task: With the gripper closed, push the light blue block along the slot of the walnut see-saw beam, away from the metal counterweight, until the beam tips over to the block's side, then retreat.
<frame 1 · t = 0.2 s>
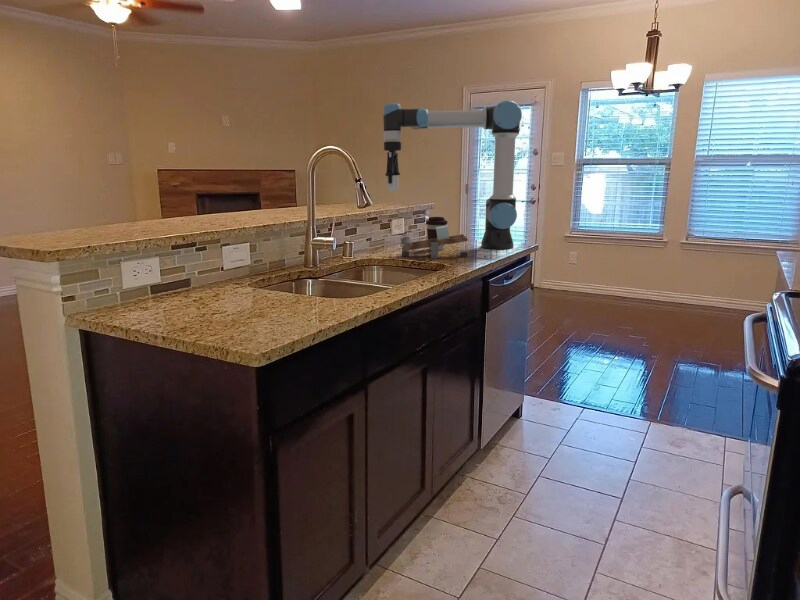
hand: (393, 190, 251), 28 cm above the worktop, fingers open, 13 cm apart
fulcrum: (434, 256, 243), on the worktop
coffee cup: (436, 249, 263), on the worktop
light blue block: (443, 240, 241), point 7 cm above the worktop, tilted 9°, touching beam
beam: (433, 238, 241), point 8 cm above the worktop, hinge at 8.8°, touching light blue block
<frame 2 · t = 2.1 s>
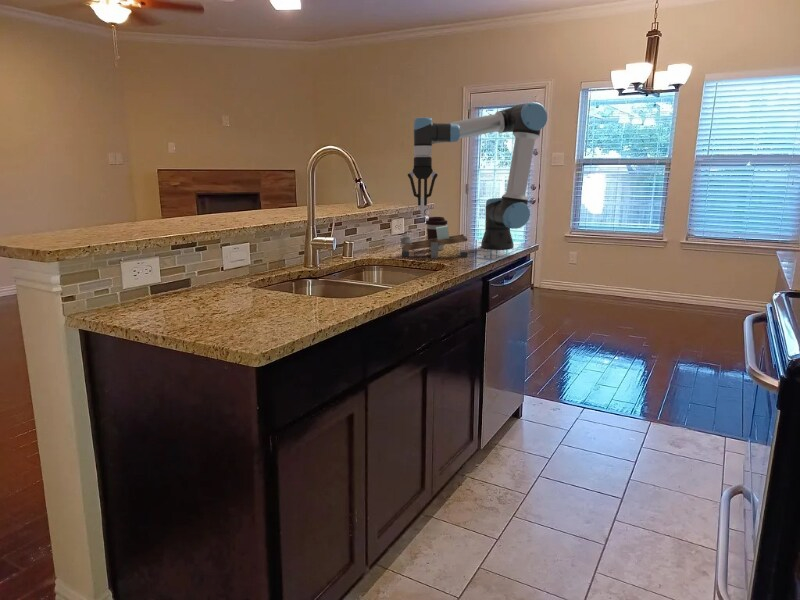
hand: (422, 213, 239), 18 cm above the worktop, fingers closed
nothing on the worktop moved.
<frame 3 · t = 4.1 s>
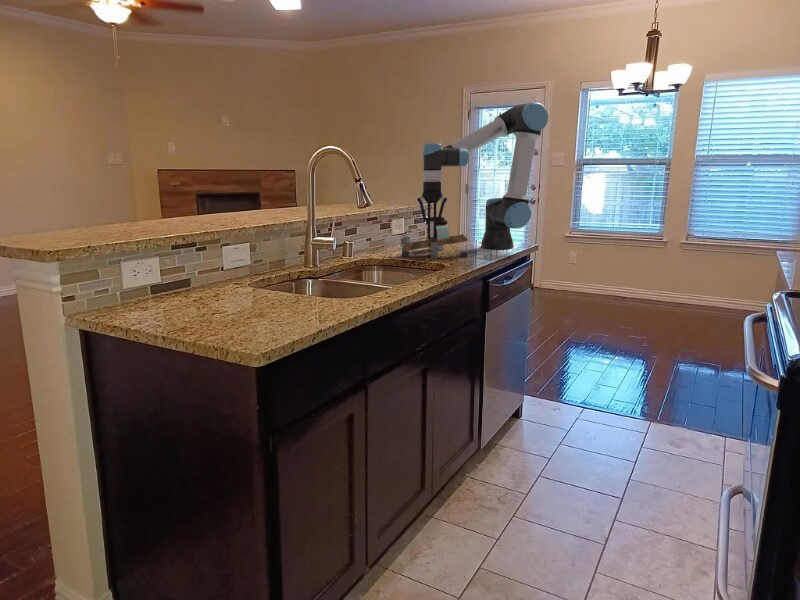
hand: (431, 236, 241), 8 cm above the worktop, fingers closed
light blue block: (443, 240, 241), point 7 cm above the worktop, tilted 7°, touching beam, gripper
everything else where it was.
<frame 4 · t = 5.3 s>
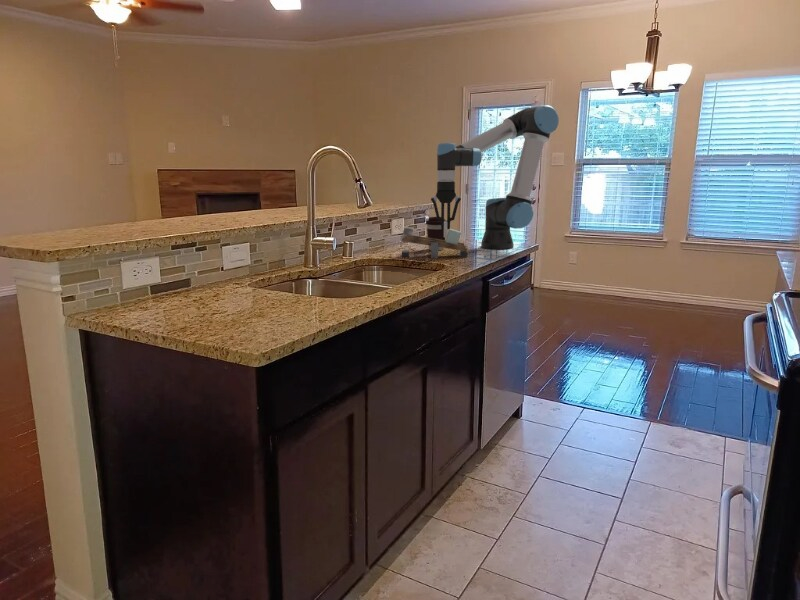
hand: (445, 236, 241), 8 cm above the worktop, fingers closed
light blue block: (451, 244, 241), point 5 cm above the worktop, tilted 17°, touching gripper
beam: (435, 238, 241), point 8 cm above the worktop, hinge at -9.1°
everything else where it was.
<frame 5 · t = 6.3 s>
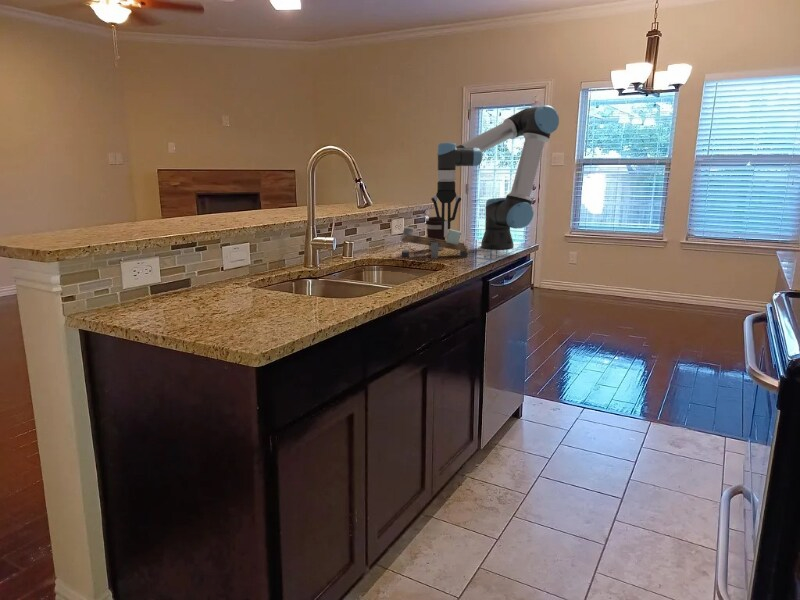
hand: (445, 236, 241), 8 cm above the worktop, fingers closed
light blue block: (451, 244, 241), point 5 cm above the worktop, tilted 15°, touching beam, gripper
beam: (435, 238, 241), point 8 cm above the worktop, hinge at -9.1°, touching light blue block
everything else where it was.
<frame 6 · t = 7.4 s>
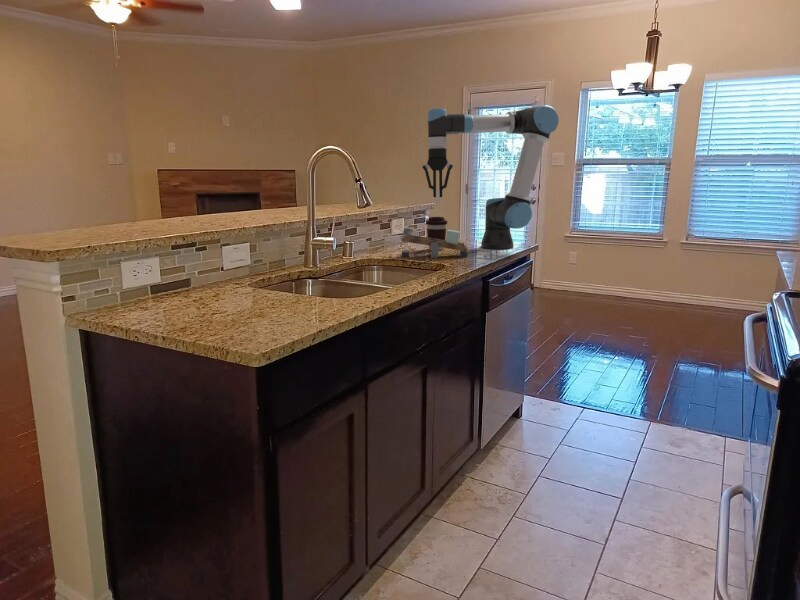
hand: (437, 205, 238), 22 cm above the worktop, fingers closed
light blue block: (451, 244, 242), point 5 cm above the worktop, tilted 9°, touching beam
everything else where it was.
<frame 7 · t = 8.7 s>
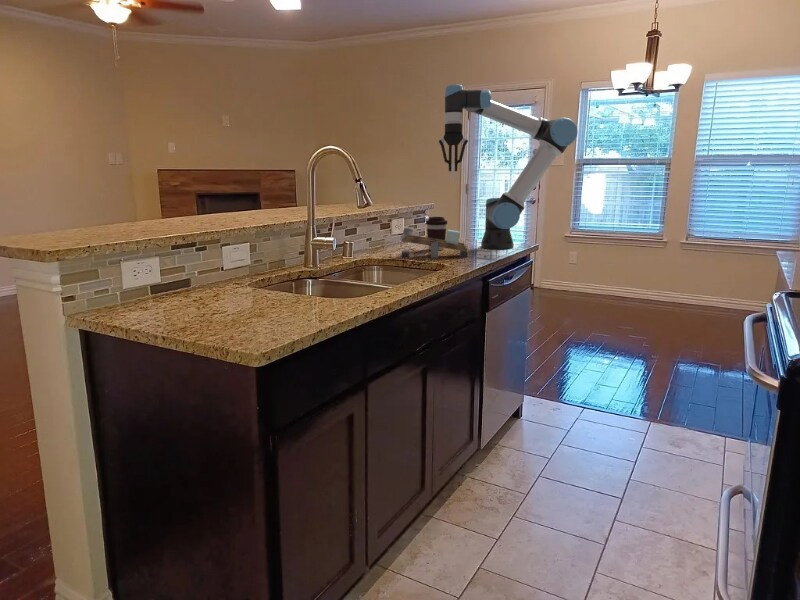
hand: (452, 179, 247), 32 cm above the worktop, fingers closed
nothing on the worktop moved.
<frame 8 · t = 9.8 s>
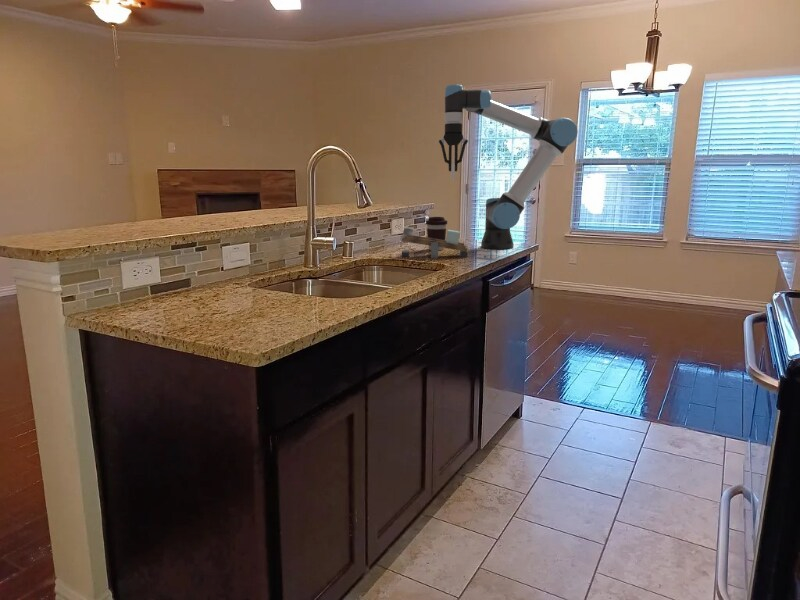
hand: (452, 179, 247), 32 cm above the worktop, fingers closed
nothing on the worktop moved.
at the end: beam at -9° (first picture: +9°); light blue block inside the target area on the beam (2.0 cm from its centre), point -0.6 cm above the beam's base; light blue block touching beam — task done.
